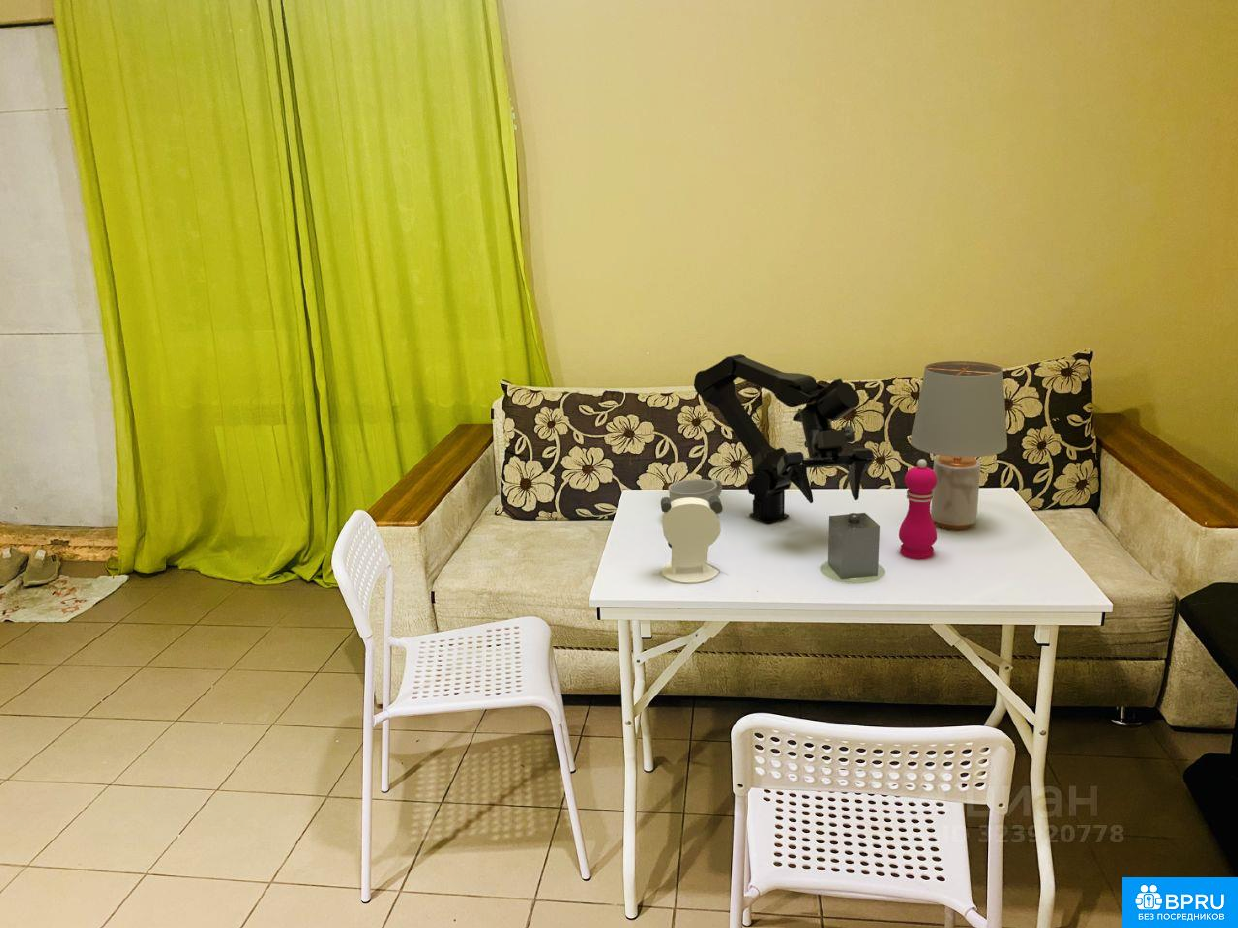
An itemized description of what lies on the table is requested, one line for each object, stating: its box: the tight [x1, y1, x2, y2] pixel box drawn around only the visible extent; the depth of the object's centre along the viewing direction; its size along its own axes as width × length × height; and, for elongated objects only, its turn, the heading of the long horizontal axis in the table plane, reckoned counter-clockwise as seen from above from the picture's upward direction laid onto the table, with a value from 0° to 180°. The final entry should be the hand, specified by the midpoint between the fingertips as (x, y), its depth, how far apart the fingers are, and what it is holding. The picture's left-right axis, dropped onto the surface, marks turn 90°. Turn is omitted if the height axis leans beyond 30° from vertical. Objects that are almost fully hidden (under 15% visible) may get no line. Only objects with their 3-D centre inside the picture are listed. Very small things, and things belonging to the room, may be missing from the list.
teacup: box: [668, 478, 723, 502], centre depth 209 cm, size 14×11×8 cm
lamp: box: [910, 360, 1008, 531], centre depth 194 cm, size 19×19×34 cm
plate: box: [819, 560, 886, 585], centre depth 178 cm, size 12×12×1 cm
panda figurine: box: [660, 495, 723, 585], centre depth 179 cm, size 12×11×15 cm
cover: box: [827, 512, 881, 579], centre depth 176 cm, size 7×7×11 cm
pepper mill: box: [898, 459, 938, 560], centre depth 181 cm, size 7×7×20 cm
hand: (834, 500), depth 183 cm, fingers open, 9 cm apart
